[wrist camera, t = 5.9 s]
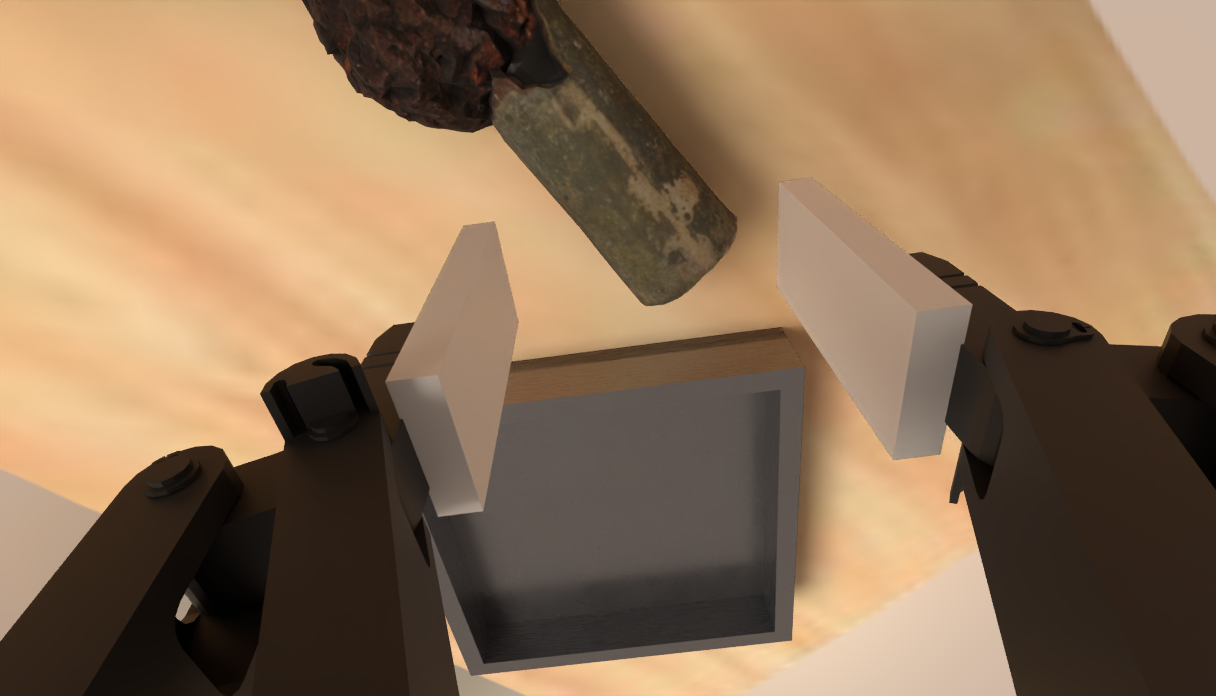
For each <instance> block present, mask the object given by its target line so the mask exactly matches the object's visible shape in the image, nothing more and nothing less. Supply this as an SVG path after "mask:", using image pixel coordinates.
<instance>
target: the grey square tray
mask: <svg viewBox="0 0 1216 696" xmlns="http://www.w3.org/2000/svg"><path fill="white" fill-rule="evenodd" d="M804 379H805V366H804V364H803V363H802V361H801V359H800V358H799V356H798V355H797V353H796V351H795V350H794V348H793V346H792V345H791V343H790V341H789V340H788V338H787V336H786V335H785V333H784V331H783V330H782V328H773V329H765V330H757V331H750V332H742V333H734V334H726V335H719V336H711V337H703V338H695V339H688V340H680V341H672V342H664V343H656V344H649V345H641V346H633V347H625V348H618V349H610V350H602V351H594V352H587V353H579V354H571V355H563V356H555V357H548V358H540V359H532V360H524V361H517V362H511V365H510V370H509V376H508V381H507V386H506V392H505V397H504V403H503V408H502V413H501V419H500V424H499V429H498V435H497V440H496V446H495V451H494V456H493V462H492V467H491V472H490V478H489V483H488V489H487V494H486V499H485V505H484V510H483V511H480V512H472V513H464V514H456V515H448V516H440V517H438V515H437V512H436V510H435V507H434V505H433V502H432V500H431V497H430V495H429V493H428V497H427V500H426V503H425V506H424V510H423V513H422V515H423V517H424V520H425V522H426V525H427V527H428V530H429V532H430V536H431V542H432V547H433V553H434V558H435V564H436V569H437V575H438V580H439V586H440V591H441V597H442V603H443V608H444V614H445V616H446V618H447V621H448V623H449V625H450V628H451V630H452V632H453V635H454V637H455V639H456V642H457V644H458V646H459V649H460V651H461V653H462V656H463V658H464V660H465V663H466V665H467V667H468V670H469V672H470V675H472V676H473V675H482V674H491V673H500V672H509V671H518V670H527V669H536V668H545V667H555V666H564V665H573V664H582V663H591V662H600V661H609V660H618V659H627V658H636V657H646V656H655V655H664V654H673V653H682V652H691V651H700V650H709V649H718V648H727V647H736V646H746V645H755V644H764V643H773V642H782V641H791V640H792V626H793V606H794V585H795V565H796V544H797V523H798V503H799V482H800V461H801V441H802V420H803V400H804Z"/></svg>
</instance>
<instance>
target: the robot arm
mask: <svg viewBox="0 0 1216 696" xmlns="http://www.w3.org/2000/svg"><path fill="white" fill-rule="evenodd" d="M777 289H778V290H779V292H780V293H781V295H782V296H783V298H784V299H785V300H786V302H787V303H788V305H789V306H790V308H791V309H792V311H793V312H794V314H795V315H796V317H797V318H798V320H799V321H800V323H801V324H802V326H803V327H804V329H805V330H806V332H807V333H808V335H809V336H810V338H811V339H812V341H813V342H814V344H815V345H816V347H817V348H818V350H819V351H820V352H821V354H822V355H823V357H824V358H825V360H826V361H827V363H828V364H829V366H830V367H831V369H832V370H833V372H834V373H835V375H836V376H837V378H838V379H839V381H840V382H841V384H842V385H843V387H844V388H845V390H846V391H847V393H848V394H849V396H850V397H851V399H852V400H853V402H854V403H855V404H856V406H857V407H858V409H859V410H860V412H861V413H862V415H863V416H864V418H865V419H866V421H867V422H868V424H869V425H870V427H871V428H872V430H873V431H874V433H875V434H876V436H877V437H878V439H879V440H880V442H881V443H882V445H883V446H884V448H885V449H886V451H887V452H888V453H889V455H890V456H891V458H892V459H893V460H899V459H907V458H915V457H923V456H931V455H939V454H940V453H941V449H942V444H943V440H944V435H945V430H946V426H947V425H948V426H949V428H950V429H951V430H952V431H953V432H954V433H955V435H956V436H957V437H958V438H959V439H960V441H961V442H962V445H961V449H960V453H959V458H958V462H957V466H956V470H955V474H954V479H953V483H952V487H951V491H950V501H949V503H955V504H957V503H958V499H959V495H960V492H962V491H963V490H964V494H965V497H966V501H967V505H968V509H969V513H970V517H971V521H972V525H973V528H974V532H975V536H976V540H977V544H978V548H979V552H980V555H981V559H982V563H983V567H984V571H985V574H986V579H987V583H988V586H989V590H990V594H991V598H992V602H993V606H994V609H995V614H996V617H997V621H998V625H999V629H1000V633H1001V636H1002V640H1003V644H1004V648H1005V652H1006V656H1007V660H1008V664H1009V668H1010V672H1011V676H1012V679H1013V683H1014V687H1015V691H1016V695H1017V696H1216V315H1211V314H1197V315H1192V316H1187V317H1181V318H1179V319H1178V320H1176V321H1175V322H1173V323H1172V324H1171V325H1170V328H1169V330H1168V332H1167V335H1166V337H1165V340H1164V342H1163V344H1162V347H1159V346H1135V345H1111V344H1108V342H1107V341H1106V339H1105V338H1104V337H1103V335H1102V334H1101V333H1099V332H1098V331H1097V330H1096V329H1095V328H1094V327H1092V326H1091V325H1089V324H1087V323H1085V322H1083V321H1080V320H1078V319H1076V318H1073V317H1069V316H1065V315H1061V314H1057V313H1054V312H1045V311H1035V310H1027V311H1016V310H1014V309H1013V308H1011V307H1010V306H1009V305H1007V304H1006V303H1005V302H1003V301H1002V300H1000V299H999V298H998V297H996V296H995V295H994V294H992V293H991V292H989V291H988V290H987V289H985V288H984V287H982V286H978V283H977V282H976V281H974V280H973V279H971V278H970V277H969V276H964V273H963V272H962V271H960V270H959V269H958V268H956V267H955V266H954V265H952V264H951V263H949V262H948V261H946V260H943V259H940V258H937V257H935V256H932V255H929V254H926V253H923V252H919V253H912V254H908V253H907V252H905V251H904V250H903V249H902V248H900V247H899V246H898V245H896V244H895V243H894V242H893V241H891V240H890V239H889V238H888V237H886V236H885V235H884V234H883V233H881V232H880V231H879V230H877V229H876V228H875V227H874V226H872V225H871V224H870V223H869V222H867V221H866V220H865V219H864V218H862V217H861V216H860V215H858V214H857V213H856V212H855V211H853V210H852V209H851V208H850V207H848V206H847V205H846V204H845V203H843V202H842V201H841V200H839V199H838V198H837V197H836V196H834V195H833V194H832V193H831V192H829V191H828V190H827V189H826V188H824V187H823V186H822V185H820V184H819V183H818V182H817V181H815V180H814V179H813V178H812V177H811V178H804V179H796V180H789V181H782V182H779V201H778V247H777ZM517 327H518V318H517V313H516V309H515V305H514V301H513V296H512V292H511V288H510V284H509V279H508V275H507V271H506V267H505V262H504V258H503V254H502V250H501V246H500V241H499V237H498V233H497V229H496V224H495V222H487V223H480V224H473V225H466V226H463V228H462V229H461V231H460V233H459V235H458V237H457V239H456V241H455V243H454V245H453V247H452V249H451V251H450V253H449V255H448V257H447V259H446V261H445V263H444V265H443V267H442V269H441V271H440V273H439V275H438V277H437V279H436V281H435V283H434V285H433V287H432V289H431V291H430V293H429V295H428V297H427V299H426V301H425V303H424V305H423V307H422V309H421V311H420V313H419V315H418V317H417V319H416V321H415V322H413V323H406V324H398V325H393V326H392V327H391V328H389V329H388V330H387V331H386V332H384V333H383V334H382V335H381V336H379V337H378V338H377V339H376V340H375V341H374V343H373V345H372V347H371V348H370V350H369V352H368V353H367V357H366V358H364V360H363V362H362V363H361V365H360V363H359V361H358V359H357V358H356V357H354V356H351V355H348V354H327V355H322V356H317V357H313V358H310V359H307V360H304V361H302V362H299V363H296V364H294V365H292V366H290V367H289V368H287V369H285V370H283V371H281V372H280V373H278V374H277V375H276V376H274V377H273V378H272V379H271V380H270V381H269V382H267V383H266V384H265V386H264V388H263V390H262V391H261V393H260V395H261V397H262V399H263V401H264V402H265V404H266V406H267V408H268V410H269V412H270V414H271V416H272V417H273V419H274V421H275V423H276V425H277V427H278V429H279V431H280V432H281V434H282V436H283V438H284V440H285V445H284V451H281V452H278V453H276V454H273V455H270V456H267V457H264V458H261V459H258V460H255V461H251V462H248V463H245V464H242V465H239V466H236V467H233V465H232V464H231V462H230V460H229V459H228V457H227V455H226V454H225V452H224V451H223V449H221V448H218V447H214V446H199V447H193V448H189V449H186V450H183V451H176V452H174V453H171V454H169V455H167V457H165V456H164V457H162V458H160V459H158V460H156V461H155V462H153V463H152V464H151V465H150V466H149V467H147V468H146V469H144V470H143V471H141V472H140V473H138V474H137V475H136V476H135V477H134V478H133V479H132V480H131V481H130V482H129V483H128V484H126V485H125V486H124V487H123V489H122V490H121V491H120V492H119V494H118V495H117V496H116V497H115V499H114V500H113V501H112V502H111V504H110V505H109V506H108V507H107V509H106V510H105V511H104V512H103V514H102V515H101V516H100V518H99V519H98V520H97V521H96V523H95V524H94V525H93V526H92V527H91V529H90V530H89V531H88V533H87V534H86V535H85V536H84V537H83V539H82V540H81V541H80V542H79V544H78V545H77V546H76V548H75V549H74V550H73V551H72V553H71V554H70V555H69V556H68V557H67V559H66V560H65V561H64V562H63V564H62V565H61V566H60V567H59V569H58V570H57V571H56V572H55V574H54V575H53V576H52V578H51V579H50V580H49V581H48V582H47V584H46V585H45V586H44V588H43V589H42V590H41V591H40V593H39V594H38V595H37V596H36V598H35V599H34V600H33V601H32V603H31V604H30V605H29V606H28V608H27V609H26V610H25V611H24V613H23V614H22V615H21V616H20V618H19V619H18V620H17V621H16V623H15V624H14V625H13V626H12V628H11V629H10V630H9V631H8V633H7V634H6V635H5V636H4V638H3V639H2V640H1V641H0V696H459V691H458V686H457V680H456V675H455V669H454V663H453V658H452V652H451V647H450V641H449V636H448V630H447V625H446V619H445V614H444V608H443V603H442V597H441V591H440V586H439V580H438V575H437V569H436V564H435V558H434V553H433V547H432V542H431V536H430V532H429V530H428V527H427V525H426V522H425V520H424V517H423V515H422V513H423V510H424V506H425V503H426V500H427V497H428V493H429V495H430V497H431V500H432V502H433V505H434V507H435V510H436V512H437V515H438V517H440V516H448V515H456V514H464V513H472V512H480V511H483V510H484V505H485V499H486V494H487V489H488V483H489V478H490V472H491V467H492V462H493V456H494V451H495V446H496V440H497V435H498V429H499V424H500V419H501V413H502V408H503V403H504V397H505V392H506V386H507V381H508V376H509V370H510V365H511V360H512V354H513V349H514V343H515V338H516V333H517ZM184 594H185V595H186V596H187V597H188V598H189V600H190V601H191V602H192V605H191V607H190V608H189V610H188V612H187V614H186V616H185V617H184V619H183V620H182V621H180V620H178V619H177V618H176V617H175V616H176V613H177V609H178V607H179V603H180V601H181V599H182V597H183V595H184Z"/></svg>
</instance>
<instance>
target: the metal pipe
mask: <svg viewBox="0 0 1216 696" xmlns="http://www.w3.org/2000/svg"><path fill="white" fill-rule="evenodd" d="M302 1H303V3H304V4H305V6H306V8H307V10H308V12H309V13H310V15H311V17H312V19H313V20H314V22H313V25H314V28H315V30H316V33H317V35H318V38H319V40H320V42H321V43H322V44H323V45H324V46H325V49H326V51H327V54H333V56H334V59H335V60H336V61H337V62H338V63H339V64H340V65H341V66H342V68H343V69H344V70H345V72H346V75H347V78H348V81H349V82H350V83H351V85H352V86H353V88H354V89H355V91H356V92H357V93H362V94H363V96H364V97H369V98H372V99H374V100H375V101H376V102H378V103H379V104H381V105H382V106H384V107H385V108H387V109H389V110H392V111H394V112H395V113H396V114H397V115H398V116H400V117H402V118H405V119H407V120H408V121H416V122H418V123H419V124H422V125H424V126H426V127H431V128H437V129H449V130H454V131H460V132H471V133H473V132H475V131H478V130H480V129H483V128H485V127H488V126H491V125H494V127H495V128H496V129H497V130H498V132H499V133H500V134H501V136H502V138H503V139H504V141H505V142H506V143H507V144H508V146H509V147H510V148H511V149H512V150H513V151H514V152H515V154H516V155H517V156H518V157H519V158H520V159H521V161H522V162H523V163H524V164H525V165H526V166H527V168H528V169H529V170H530V171H531V172H532V173H533V174H534V176H535V177H536V178H537V179H538V180H539V181H540V182H541V184H542V185H543V186H544V187H545V188H546V189H547V190H548V192H549V193H550V194H551V195H552V196H553V197H554V198H555V200H556V201H557V202H558V203H559V204H560V205H561V206H562V208H563V209H564V210H565V211H566V212H567V213H568V215H569V216H570V217H571V218H572V219H573V220H574V221H575V223H576V224H577V225H578V226H579V227H580V228H581V230H582V231H583V232H584V233H585V235H586V236H587V237H588V238H589V240H590V241H591V242H592V243H593V245H594V246H595V247H596V249H597V250H598V251H599V252H600V254H601V255H602V256H603V257H604V259H605V260H606V261H607V262H608V263H609V265H610V266H611V267H612V268H613V270H614V271H615V272H616V273H617V274H618V276H619V277H620V278H621V279H622V281H623V282H624V283H625V284H626V285H627V286H628V288H629V289H630V290H631V291H632V292H633V294H634V295H635V296H636V297H637V298H638V300H639V301H640V302H641V303H642V304H644V305H645V306H654V305H664V304H666V303H669V302H671V301H673V300H675V299H678V298H679V297H681V296H682V295H683V294H685V293H686V292H688V291H689V290H690V289H691V288H692V287H693V286H695V285H696V283H697V282H698V281H699V280H700V279H701V278H702V277H703V276H704V275H705V274H706V273H708V272H709V271H710V270H711V269H712V268H713V267H714V266H715V265H716V264H717V263H718V261H719V260H720V259H721V258H722V257H723V256H724V255H725V254H726V253H727V251H728V250H729V249H730V247H731V245H732V243H733V241H734V239H735V237H736V232H737V224H736V222H737V217H736V216H735V215H734V214H733V213H731V212H730V211H729V210H728V209H727V208H726V206H725V205H724V204H723V203H722V202H721V201H720V200H719V199H718V197H717V196H716V195H715V194H714V193H713V192H712V190H711V189H710V188H709V187H708V186H707V184H706V183H705V182H704V181H703V180H702V179H701V177H700V176H699V175H698V174H697V172H696V171H695V170H694V169H693V167H692V166H691V165H690V164H689V163H688V161H687V160H686V159H685V158H684V157H683V156H682V155H681V154H680V152H679V151H678V150H677V149H676V148H675V147H674V146H673V144H672V143H671V142H670V140H669V139H668V138H667V137H666V135H665V134H664V133H663V131H662V130H661V129H660V128H659V126H658V125H657V124H656V123H655V121H654V120H653V119H652V118H651V117H650V115H649V114H648V113H647V112H646V111H645V109H644V108H643V107H642V106H641V105H640V104H639V102H638V101H637V100H636V99H635V98H634V96H633V95H632V94H631V93H630V92H629V90H628V89H627V88H626V87H625V86H624V84H623V83H622V82H621V81H620V79H619V78H618V77H617V76H616V75H615V73H614V72H613V71H612V70H611V68H610V67H609V66H608V65H607V64H606V62H605V61H604V60H603V59H602V57H601V56H600V55H599V54H598V52H597V51H596V50H595V49H594V47H593V46H592V45H591V44H590V42H589V41H588V40H587V39H586V38H585V36H584V35H583V34H582V33H581V31H580V30H579V29H578V28H577V27H576V25H575V24H574V23H573V22H572V21H571V20H570V18H569V17H568V16H567V15H566V14H565V13H564V11H563V10H562V9H561V7H560V5H559V4H558V2H557V1H556V0H302Z"/></svg>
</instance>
